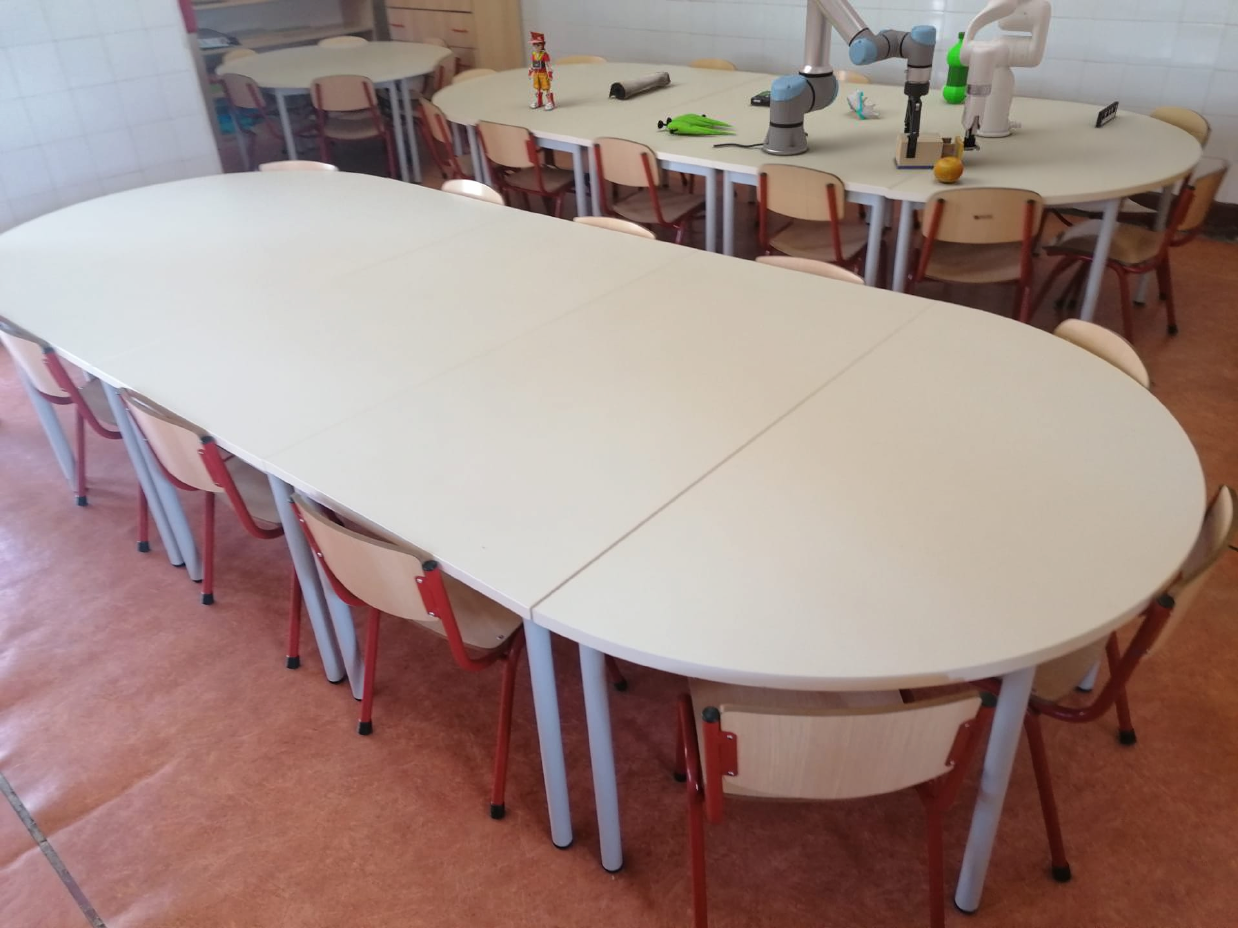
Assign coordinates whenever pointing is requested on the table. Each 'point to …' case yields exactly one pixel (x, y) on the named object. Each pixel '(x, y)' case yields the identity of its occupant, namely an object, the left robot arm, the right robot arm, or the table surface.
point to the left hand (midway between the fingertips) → (908, 153)
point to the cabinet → (919, 151)
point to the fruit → (948, 169)
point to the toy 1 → (541, 71)
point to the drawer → (955, 148)
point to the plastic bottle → (956, 75)
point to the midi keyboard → (1107, 113)
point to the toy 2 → (692, 125)
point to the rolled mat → (638, 84)
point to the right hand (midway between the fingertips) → (968, 150)
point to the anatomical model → (861, 105)
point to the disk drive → (761, 99)
